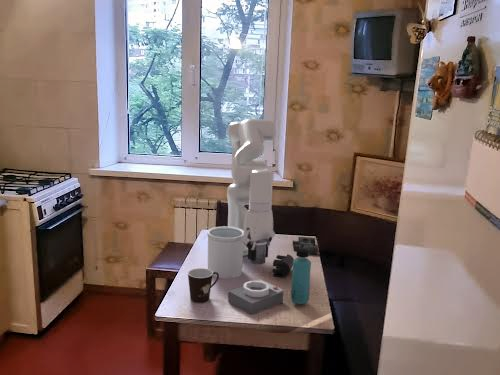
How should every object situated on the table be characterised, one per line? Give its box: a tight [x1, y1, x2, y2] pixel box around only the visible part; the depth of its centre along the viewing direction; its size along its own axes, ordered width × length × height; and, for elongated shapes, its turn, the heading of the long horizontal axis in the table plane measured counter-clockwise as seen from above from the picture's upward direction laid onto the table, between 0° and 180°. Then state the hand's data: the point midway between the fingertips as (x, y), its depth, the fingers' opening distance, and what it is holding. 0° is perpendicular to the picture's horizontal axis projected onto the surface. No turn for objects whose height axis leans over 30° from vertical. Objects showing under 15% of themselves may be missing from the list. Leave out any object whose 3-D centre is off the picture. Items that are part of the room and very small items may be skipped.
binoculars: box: [292, 236, 319, 255], centre depth 215 cm, size 11×16×6 cm
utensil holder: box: [206, 225, 244, 279], centre depth 180 cm, size 15×15×18 cm
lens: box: [249, 239, 267, 265], centre depth 153 cm, size 5×5×8 cm
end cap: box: [272, 253, 295, 278], centre depth 184 cm, size 10×7×7 cm
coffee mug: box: [187, 267, 220, 304], centre depth 157 cm, size 12×9×10 cm
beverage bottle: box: [290, 248, 312, 305], centre depth 155 cm, size 6×7×20 cm
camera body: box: [227, 278, 285, 315], centre depth 157 cm, size 12×15×6 cm
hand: (257, 257), depth 154 cm, fingers closed on lens, 5 cm apart
